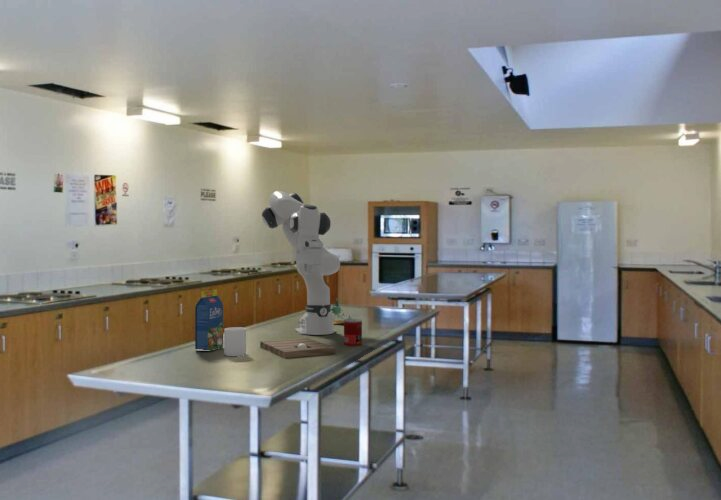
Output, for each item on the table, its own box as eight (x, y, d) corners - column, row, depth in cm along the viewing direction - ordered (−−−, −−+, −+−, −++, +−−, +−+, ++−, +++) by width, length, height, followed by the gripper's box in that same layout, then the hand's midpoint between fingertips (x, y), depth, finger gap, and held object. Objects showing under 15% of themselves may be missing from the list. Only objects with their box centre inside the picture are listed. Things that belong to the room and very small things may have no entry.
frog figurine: (352, 326, 368) (349, 298, 368) (319, 328, 373) (316, 300, 373) (356, 323, 377) (354, 296, 377) (325, 325, 382) (322, 298, 382)
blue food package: (194, 351, 289) (194, 291, 288) (210, 346, 300) (210, 288, 299) (207, 352, 287) (207, 291, 286) (223, 347, 298) (223, 289, 297)
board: (260, 347, 300) (260, 341, 299) (307, 343, 310) (307, 338, 310) (284, 358, 275) (284, 351, 275) (334, 353, 285) (334, 347, 285)
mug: (253, 352, 287) (253, 326, 286) (239, 357, 275) (239, 330, 275) (235, 351, 290) (235, 325, 289) (220, 356, 278) (220, 329, 278)
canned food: (359, 346, 303) (360, 321, 303) (342, 345, 305) (342, 320, 305) (363, 343, 311) (363, 318, 310) (345, 342, 312) (346, 318, 312)
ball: (295, 349, 288) (297, 341, 285) (303, 348, 289) (306, 340, 287) (298, 355, 285) (300, 348, 283) (307, 354, 287) (309, 347, 284)
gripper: (292, 241, 309) (291, 272, 310) (311, 243, 291) (310, 276, 292) (305, 241, 312) (304, 272, 313) (325, 243, 294) (324, 276, 295)
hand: (307, 274), depth 302 cm, fingers closed
